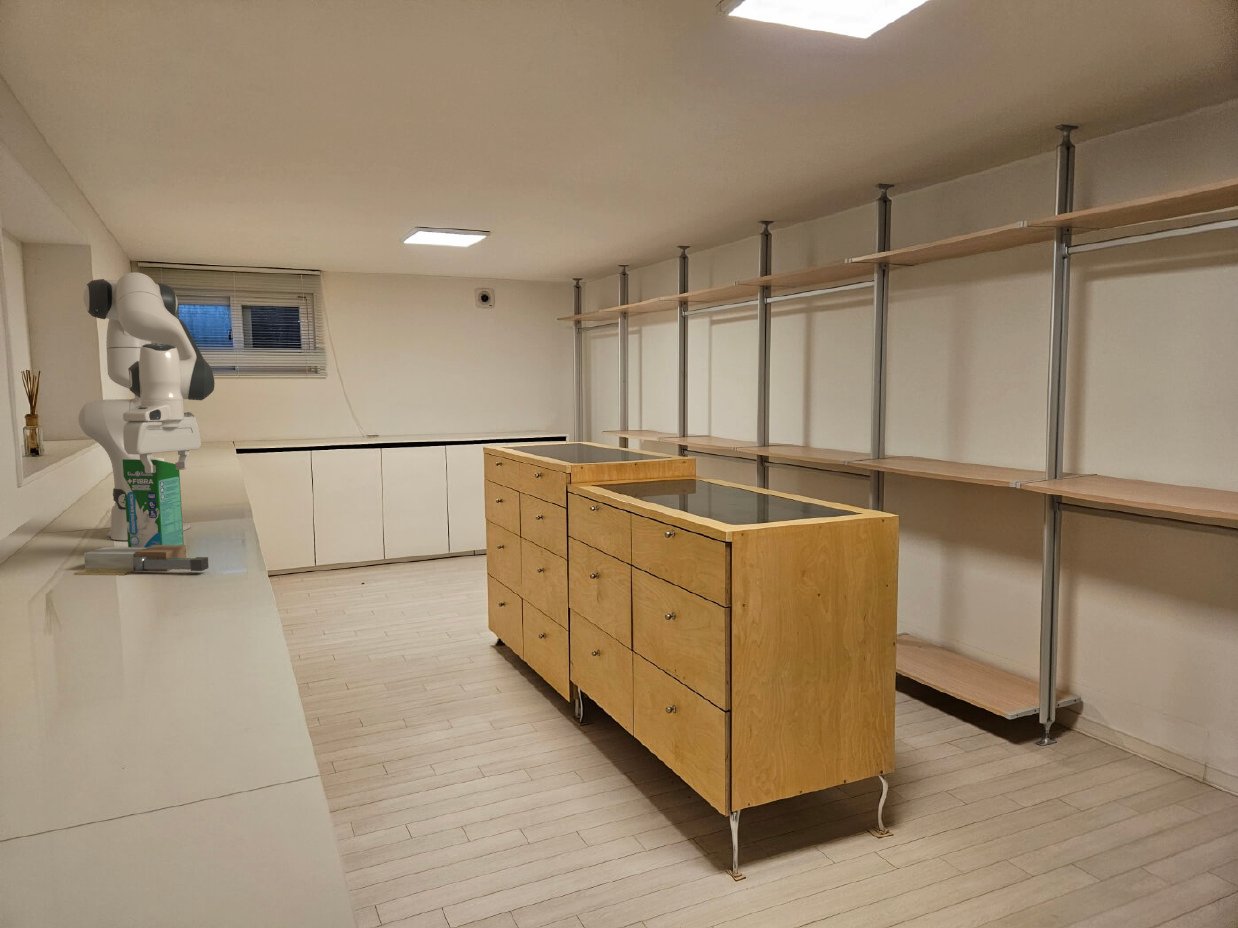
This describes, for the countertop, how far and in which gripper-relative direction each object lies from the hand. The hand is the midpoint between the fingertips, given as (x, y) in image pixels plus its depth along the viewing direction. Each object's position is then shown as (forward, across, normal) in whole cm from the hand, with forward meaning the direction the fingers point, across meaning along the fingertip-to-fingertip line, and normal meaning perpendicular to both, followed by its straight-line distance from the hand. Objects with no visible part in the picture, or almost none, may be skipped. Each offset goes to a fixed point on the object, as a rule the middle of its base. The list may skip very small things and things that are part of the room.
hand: (166, 471), depth 195 cm
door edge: (+23, +1, -9) cm, 25 cm away
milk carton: (+23, -12, -15) cm, 30 cm away
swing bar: (+23, +5, +4) cm, 23 cm away
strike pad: (+23, +8, -11) cm, 27 cm away
